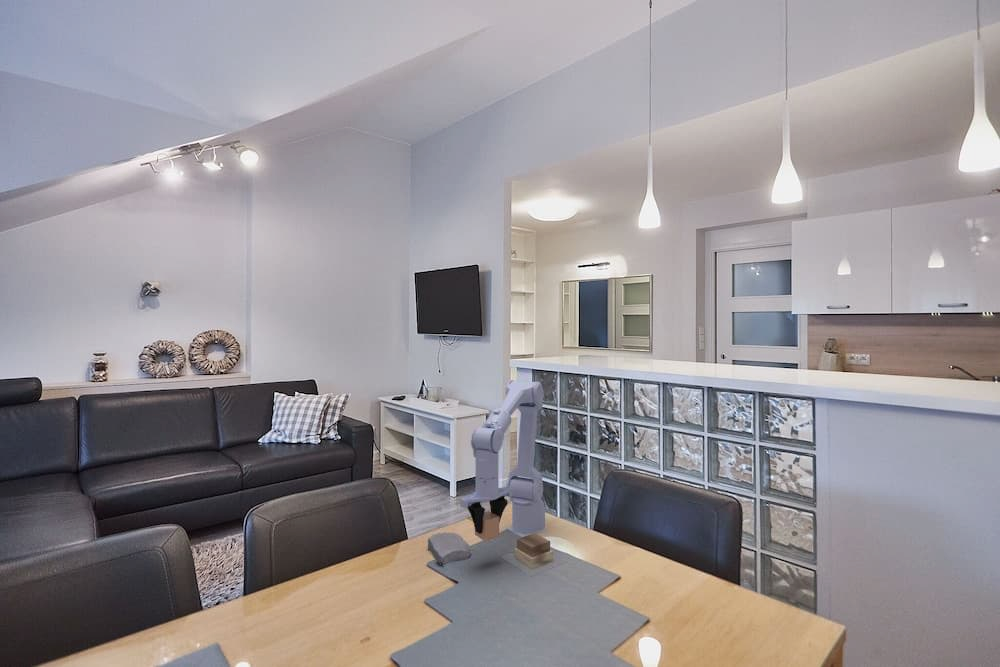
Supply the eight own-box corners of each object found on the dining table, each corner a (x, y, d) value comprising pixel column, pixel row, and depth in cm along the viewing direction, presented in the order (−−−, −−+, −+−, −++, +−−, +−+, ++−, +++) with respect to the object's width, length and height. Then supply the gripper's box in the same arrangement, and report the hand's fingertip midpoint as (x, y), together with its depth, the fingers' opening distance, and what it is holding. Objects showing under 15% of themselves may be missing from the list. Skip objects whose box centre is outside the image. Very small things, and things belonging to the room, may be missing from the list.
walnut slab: (534, 542, 130) (534, 533, 130) (550, 550, 126) (550, 541, 125) (517, 548, 127) (517, 538, 127) (532, 557, 122) (532, 547, 122)
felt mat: (536, 546, 135) (536, 544, 135) (567, 564, 125) (567, 561, 125) (500, 559, 128) (500, 556, 128) (530, 578, 118) (530, 576, 118)
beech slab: (535, 550, 131) (535, 541, 131) (552, 560, 125) (553, 551, 125) (514, 557, 127) (514, 548, 127) (531, 568, 121) (531, 558, 121)
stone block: (457, 548, 138) (423, 548, 134) (461, 531, 138) (427, 530, 134) (473, 569, 127) (437, 569, 123) (477, 550, 127) (441, 550, 123)
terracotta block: (489, 530, 127) (489, 511, 127) (499, 536, 123) (499, 516, 123) (474, 534, 124) (474, 515, 124) (484, 541, 121) (484, 520, 120)
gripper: (500, 466, 131) (500, 517, 131) (453, 477, 122) (453, 531, 123) (517, 473, 125) (517, 526, 125) (469, 484, 117) (469, 541, 117)
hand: (487, 529), depth 124 cm, fingers closed on terracotta block, 4 cm apart
